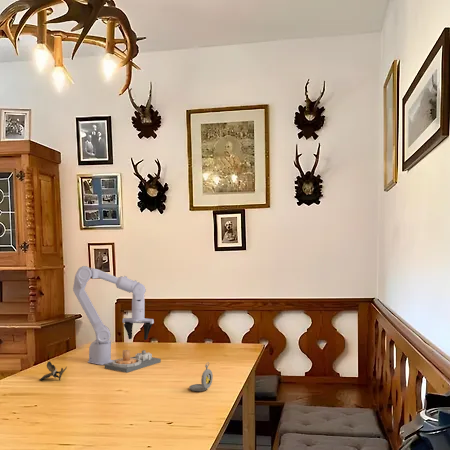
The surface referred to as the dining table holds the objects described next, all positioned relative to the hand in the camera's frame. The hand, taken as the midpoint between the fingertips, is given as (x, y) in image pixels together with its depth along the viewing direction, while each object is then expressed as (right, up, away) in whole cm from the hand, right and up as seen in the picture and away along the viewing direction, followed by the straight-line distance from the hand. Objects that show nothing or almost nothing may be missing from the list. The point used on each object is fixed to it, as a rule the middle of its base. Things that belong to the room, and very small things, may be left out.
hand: (138, 339), depth 210 cm
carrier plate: (0, -9, -10) cm, 13 cm away
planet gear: (-3, -7, -13) cm, 15 cm away
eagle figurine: (-27, -8, -32) cm, 43 cm away
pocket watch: (+31, -7, -46) cm, 56 cm away
